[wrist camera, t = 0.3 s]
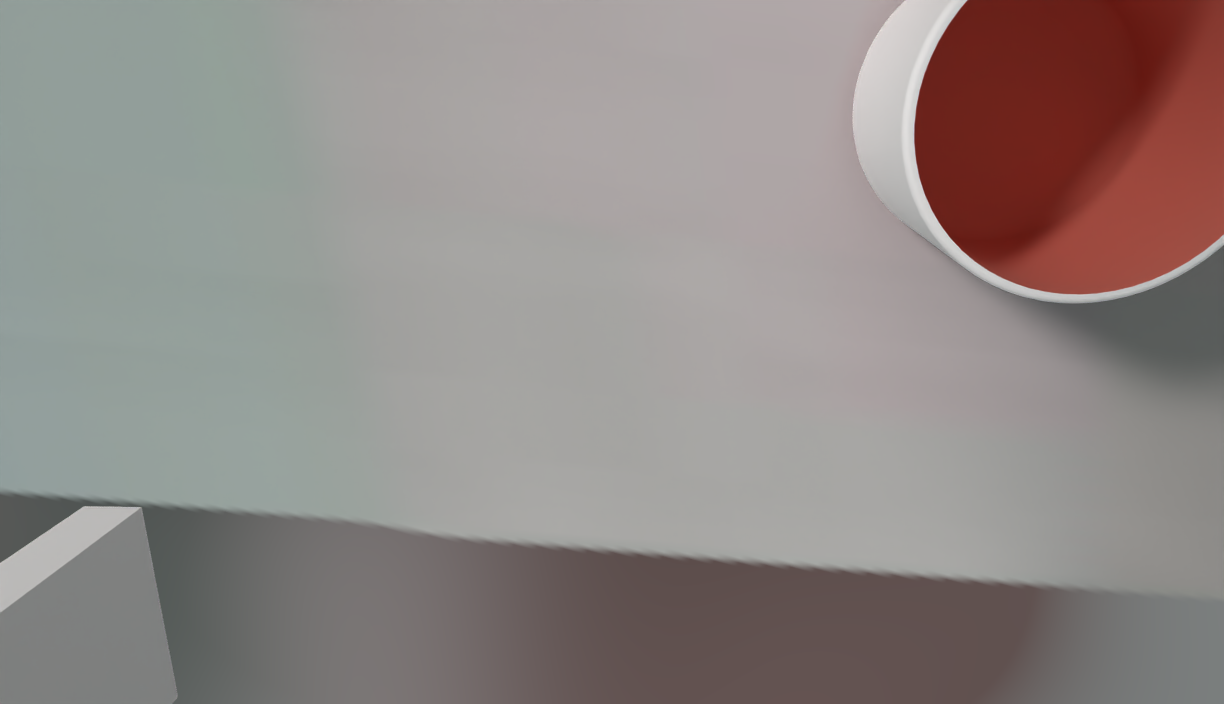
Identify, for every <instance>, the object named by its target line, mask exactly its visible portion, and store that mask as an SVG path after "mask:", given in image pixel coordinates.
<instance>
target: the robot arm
mask: <svg viewBox="0 0 1224 704" xmlns="http://www.w3.org/2000/svg"><path fill="white" fill-rule="evenodd" d="M177 697H178V695H177V690H176V684H175V680H174V674H173V669H172V664H171V658H170V653H169V648H168V643H167V637H166V632H165V627H164V622H163V617H162V612H161V607H160V601H159V596H158V591H157V586H156V580H155V575H154V570H153V564H152V559H151V554H150V549H149V544H148V539H147V533H146V528H145V523H144V518H143V512H142V507H85V506H84V507H83V508H81V509H80V510H78V511H77V512H75V513H74V514H72V515H71V516H70V517H68V518H66V519H65V520H63V521H62V522H61V523H59V524H57V525H56V526H54V527H53V528H52V529H50V530H49V531H47V532H46V533H44V534H43V535H41V536H40V537H38V538H37V539H35V540H34V541H32V542H31V543H30V544H28V545H26V546H25V547H23V548H22V549H20V550H19V551H18V552H16V553H15V554H13V555H12V556H10V557H9V558H7V559H6V560H4V561H3V562H1V563H0V704H172V703H173V702H174V701H175V700H176V698H177Z"/></svg>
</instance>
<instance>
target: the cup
mask: <svg viewBox="0 0 1224 704" xmlns="http://www.w3.org/2000/svg"><path fill="white" fill-rule="evenodd" d="M853 134H854V140H855V146H856V151H857V154H858V157H859V161H860V164H861V167H862V169H863V171H864V174H865V176H866V178H867V180H868V182H869V184H870V185H871V187H872V189H873V190H874V192H875V193H876V195H877V196H878V197H879V199H880V200H881V201H882V203H883V204H884V205H885V206H886V207H887V208H888V209H889V210H890V211H891V212H892V213H893V214H894V215H895V216H896V217H897V218H898V219H900V220H901V221H902V222H903V223H904V224H906V225H907V226H908V227H910V228H911V229H913V230H914V231H915V232H917V233H918V234H919V235H921V236H922V237H923V238H925V239H926V240H928V241H929V242H930V243H932V244H933V245H934V246H936V247H937V248H938V249H940V250H941V251H942V252H944V253H945V254H946V255H948V256H949V257H950V258H952V259H953V260H954V261H956V262H957V263H958V264H960V265H961V266H962V267H964V268H965V269H967V270H968V271H969V272H971V273H972V274H974V275H975V276H977V277H978V278H980V279H982V280H984V281H985V282H987V283H989V284H991V285H993V286H995V287H997V288H1000V289H1002V290H1004V291H1007V292H1009V293H1013V294H1016V295H1019V296H1022V297H1025V298H1030V299H1035V300H1040V301H1046V302H1055V303H1094V302H1102V301H1109V300H1114V299H1119V298H1123V297H1128V296H1131V295H1134V294H1138V293H1141V292H1144V291H1147V290H1149V289H1152V288H1154V287H1157V286H1160V285H1162V284H1164V283H1166V282H1168V281H1170V280H1172V279H1174V278H1177V277H1178V276H1180V275H1182V274H1184V273H1185V272H1187V271H1189V270H1190V269H1192V268H1194V267H1195V266H1197V265H1198V264H1200V263H1201V262H1203V261H1204V260H1206V259H1207V258H1208V257H1210V256H1211V255H1212V254H1213V253H1215V252H1216V251H1217V250H1218V249H1220V248H1221V247H1222V246H1223V245H1224V0H905V1H904V2H903V3H902V4H901V5H900V6H899V7H898V8H897V9H896V10H895V11H894V12H893V14H892V15H891V16H890V17H889V18H888V20H887V21H886V22H885V24H884V25H883V26H882V28H881V29H880V31H879V32H878V34H877V36H876V37H875V39H874V41H873V43H872V44H871V46H870V48H869V50H868V52H867V55H866V58H865V60H864V63H863V65H862V68H861V70H860V73H859V77H858V80H857V84H856V89H855V95H854V101H853Z"/></svg>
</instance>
